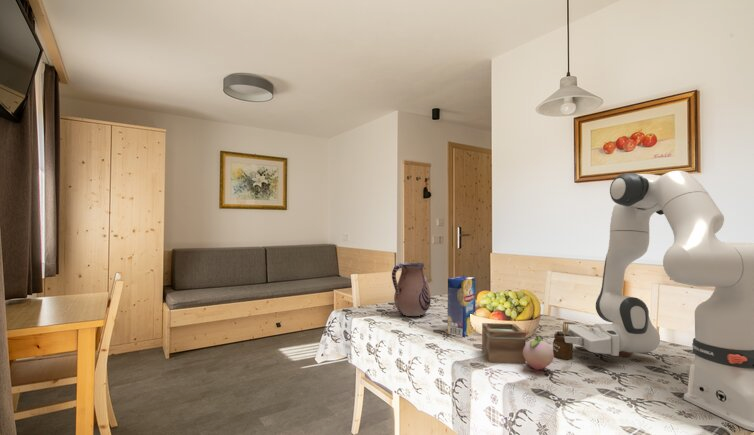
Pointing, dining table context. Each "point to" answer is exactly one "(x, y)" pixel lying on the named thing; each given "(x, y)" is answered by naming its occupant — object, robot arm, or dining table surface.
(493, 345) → the walnut box
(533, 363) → the decorative fruit
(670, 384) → the dining table surface
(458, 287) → the beverage box
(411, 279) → the ceramic pitcher
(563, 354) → the utensil holder
